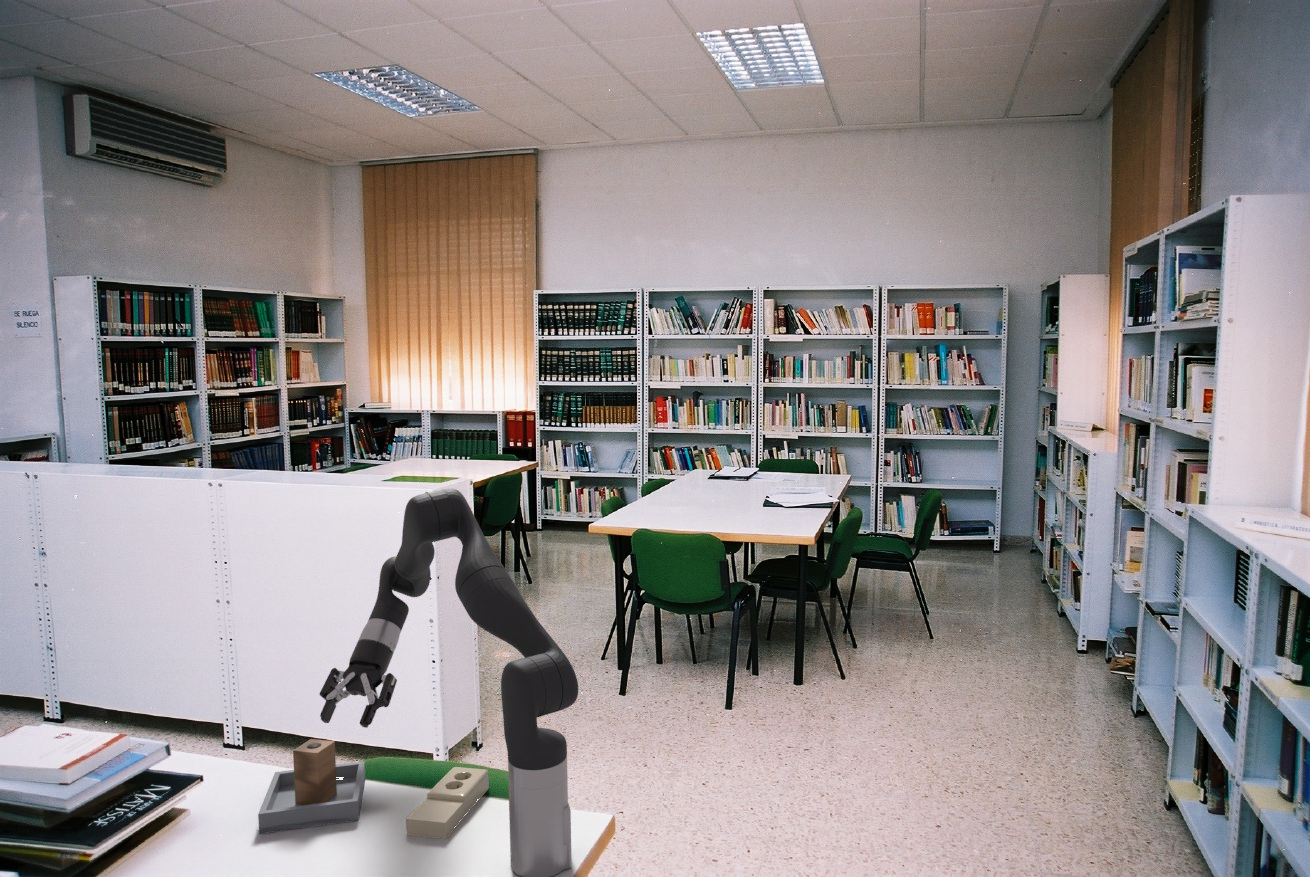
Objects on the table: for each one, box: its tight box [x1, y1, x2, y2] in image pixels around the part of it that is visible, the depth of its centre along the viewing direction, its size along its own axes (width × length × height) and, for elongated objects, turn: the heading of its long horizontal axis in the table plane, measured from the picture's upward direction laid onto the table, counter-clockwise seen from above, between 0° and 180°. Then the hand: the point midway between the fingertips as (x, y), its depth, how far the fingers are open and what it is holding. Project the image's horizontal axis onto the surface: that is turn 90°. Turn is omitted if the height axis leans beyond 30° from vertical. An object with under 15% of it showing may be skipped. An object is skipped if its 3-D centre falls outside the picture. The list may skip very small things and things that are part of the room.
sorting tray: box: [257, 761, 366, 835], centre depth 153 cm, size 16×16×4 cm
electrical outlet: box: [405, 766, 490, 840], centre depth 150 cm, size 7×4×18 cm
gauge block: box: [292, 738, 337, 806], centre depth 152 cm, size 5×5×10 cm
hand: (343, 723), depth 161 cm, fingers open, 8 cm apart
